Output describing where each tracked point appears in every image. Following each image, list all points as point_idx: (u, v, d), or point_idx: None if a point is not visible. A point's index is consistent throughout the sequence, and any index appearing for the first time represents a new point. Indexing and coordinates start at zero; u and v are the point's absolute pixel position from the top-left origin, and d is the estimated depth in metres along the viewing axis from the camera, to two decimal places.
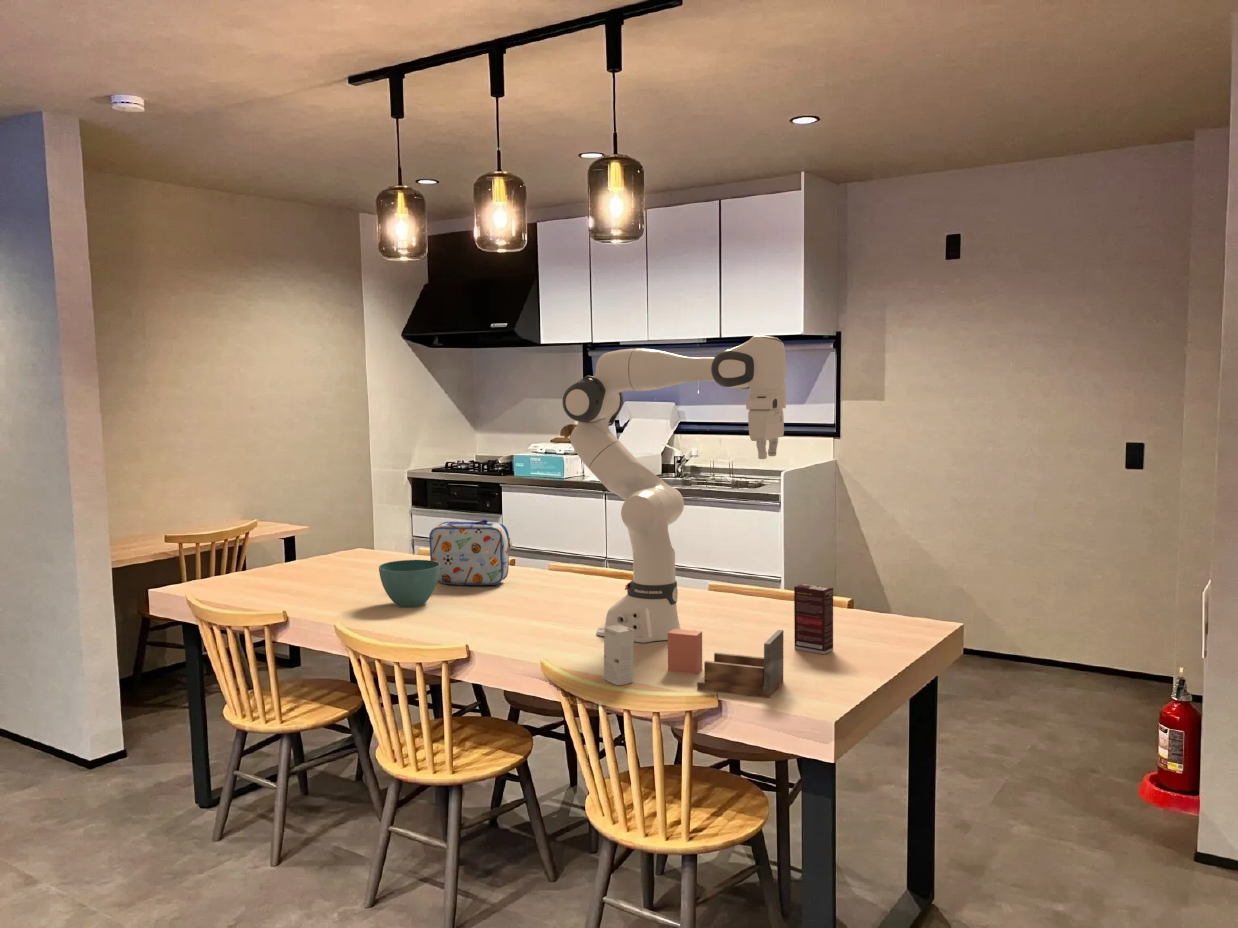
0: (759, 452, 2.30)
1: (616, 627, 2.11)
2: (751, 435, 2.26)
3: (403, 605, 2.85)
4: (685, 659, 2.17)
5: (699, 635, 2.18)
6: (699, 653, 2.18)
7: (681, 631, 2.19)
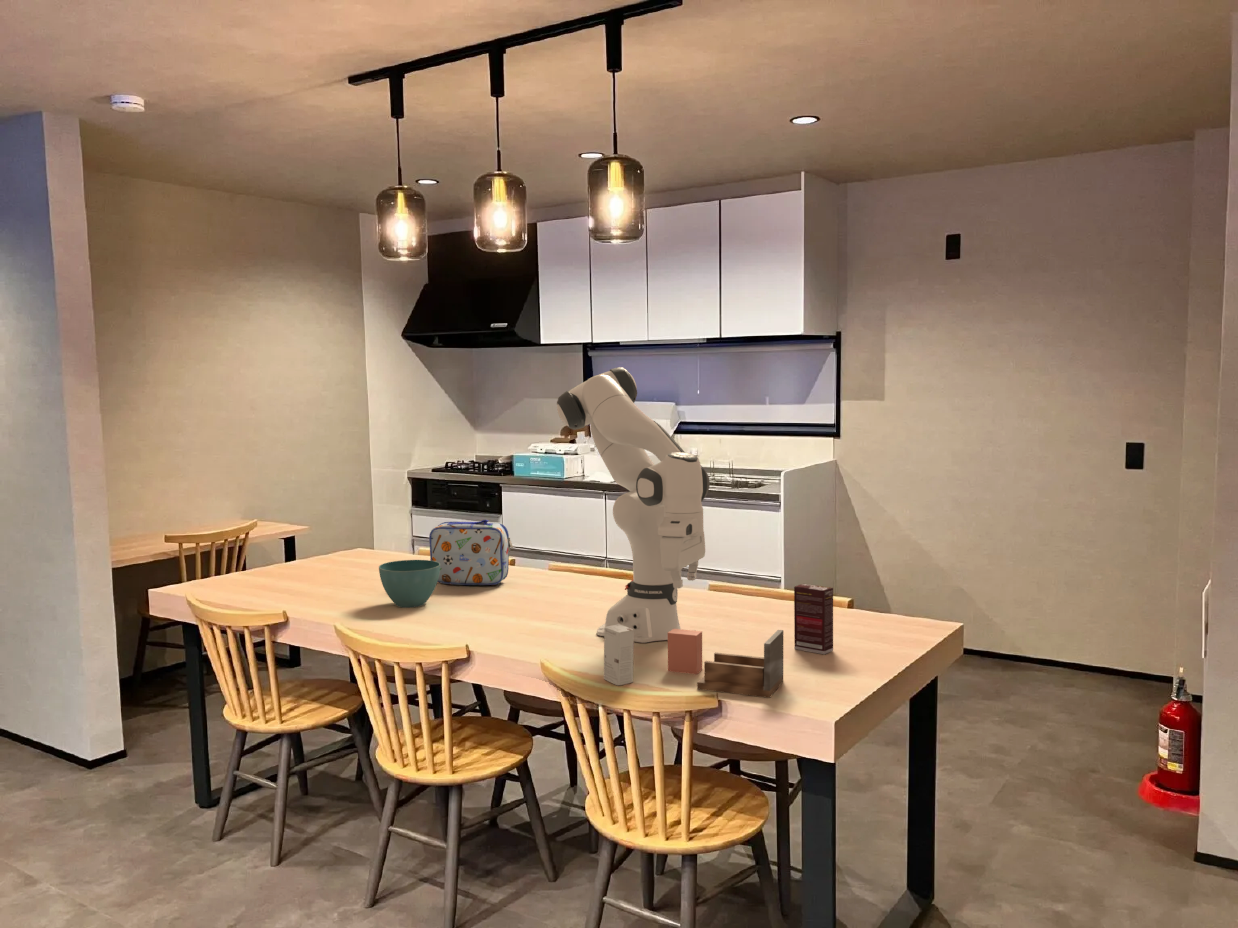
0: (674, 581, 2.13)
1: (616, 627, 2.11)
2: (663, 565, 2.09)
3: (403, 605, 2.85)
4: (685, 659, 2.17)
5: (699, 635, 2.18)
6: (699, 653, 2.18)
7: (681, 631, 2.19)
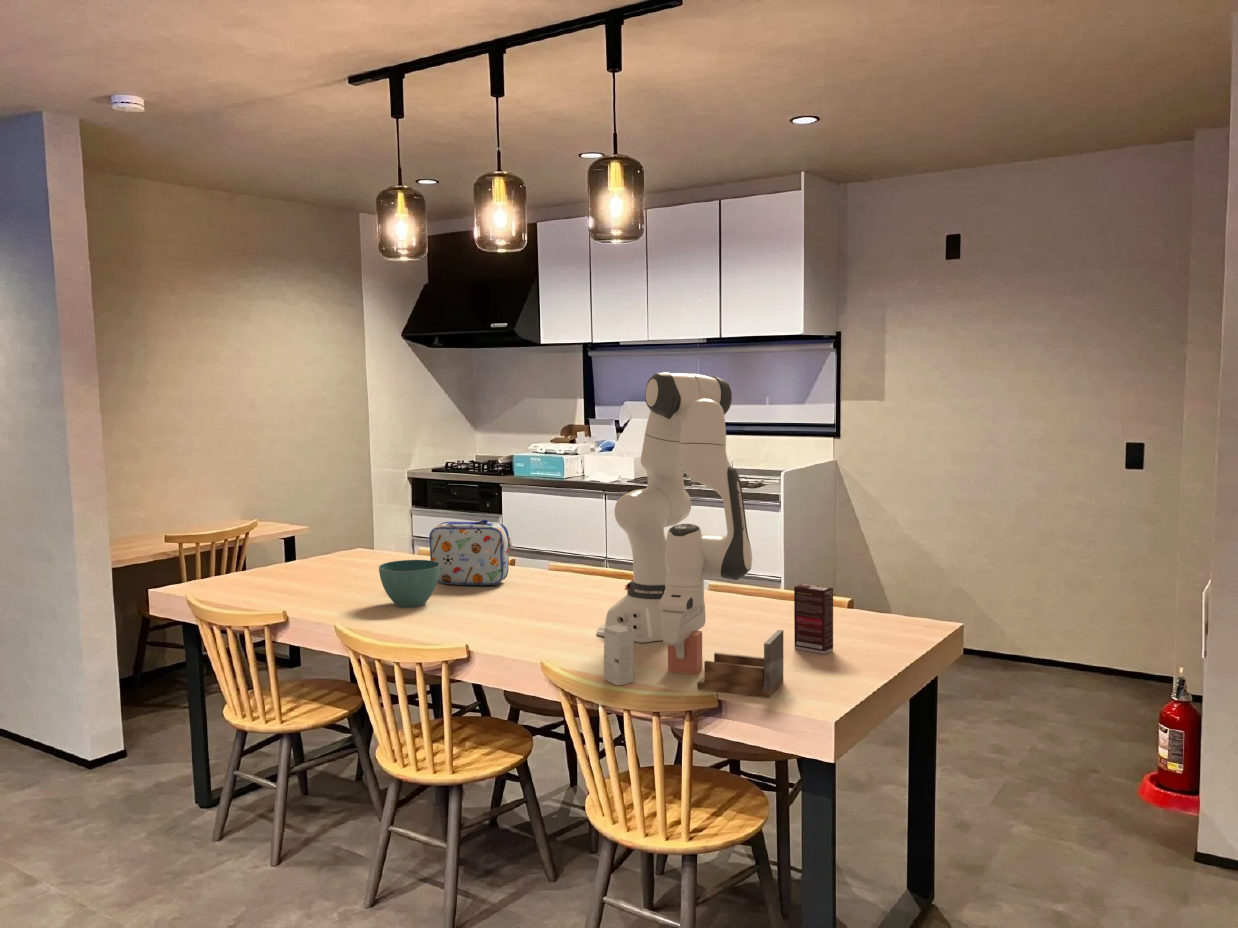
0: (677, 651, 2.16)
1: (616, 627, 2.11)
2: (663, 639, 2.10)
3: (403, 605, 2.85)
4: (685, 659, 2.17)
5: (699, 635, 2.18)
6: (699, 653, 2.18)
7: None
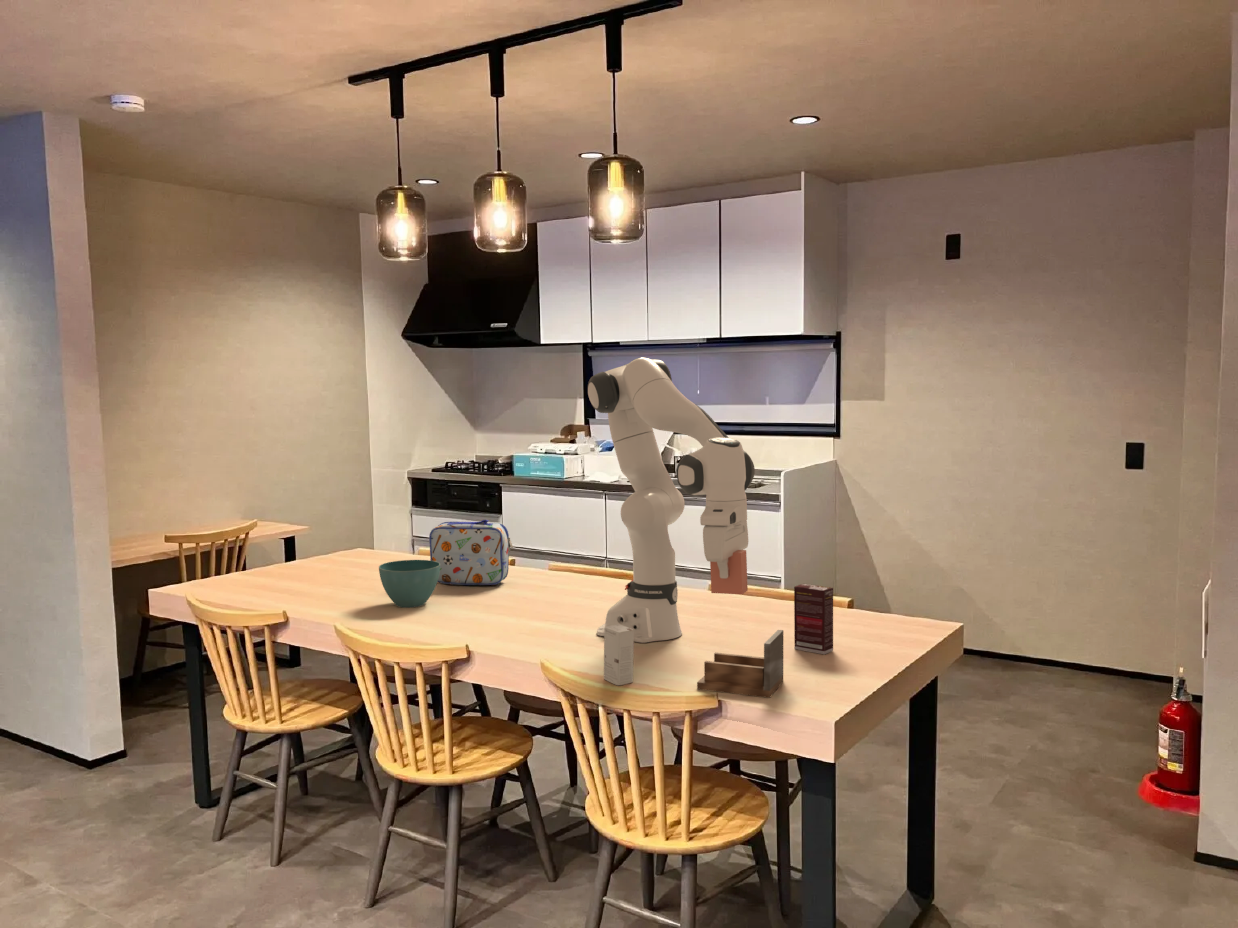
0: (720, 570, 2.04)
1: (616, 627, 2.11)
2: (706, 555, 1.99)
3: (403, 605, 2.85)
4: (729, 579, 2.05)
5: (743, 553, 2.06)
6: (743, 572, 2.06)
7: None
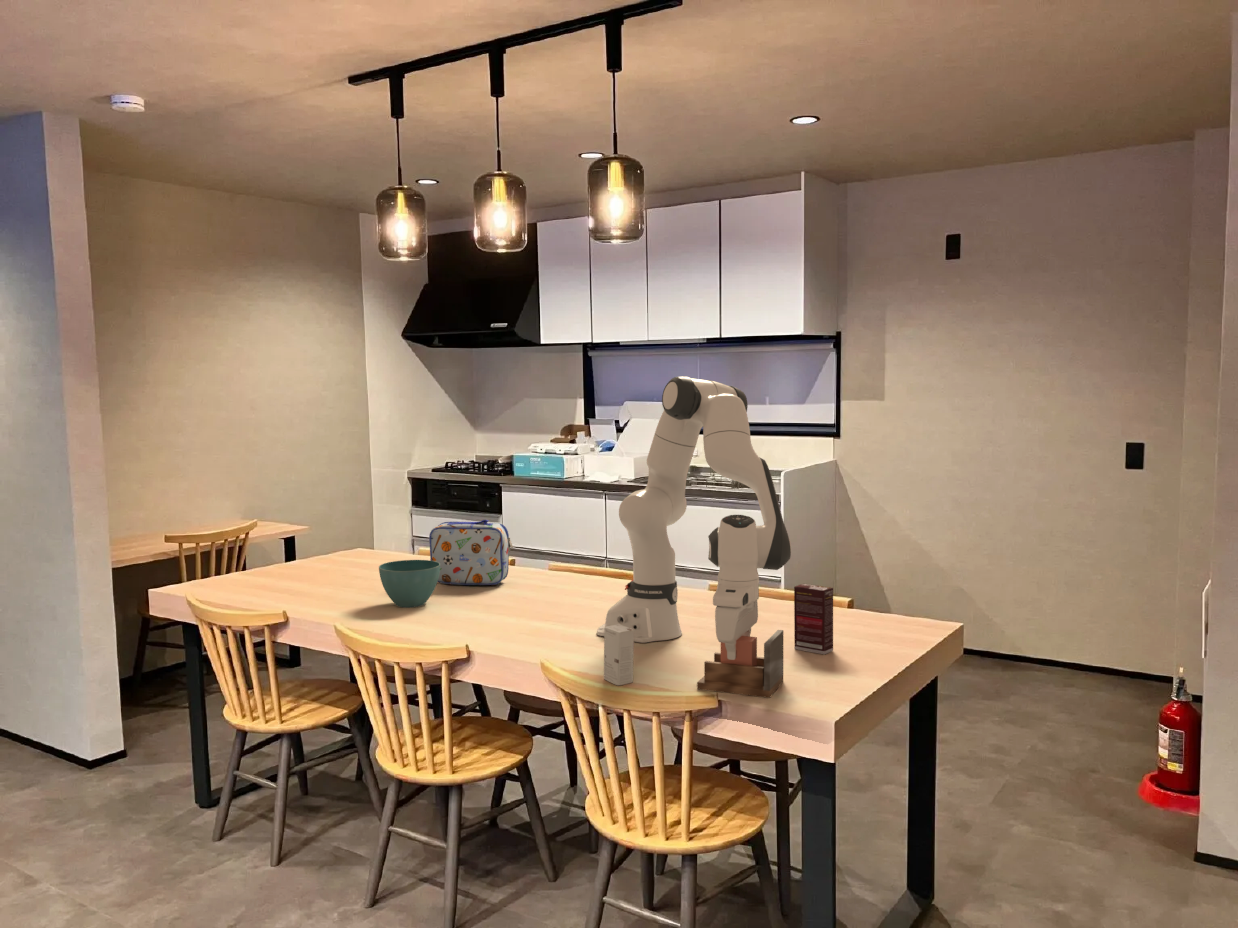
0: (728, 651, 2.03)
1: (616, 627, 2.11)
2: (718, 636, 1.99)
3: (403, 605, 2.85)
4: None
5: (754, 641, 2.06)
6: (753, 660, 2.06)
7: None
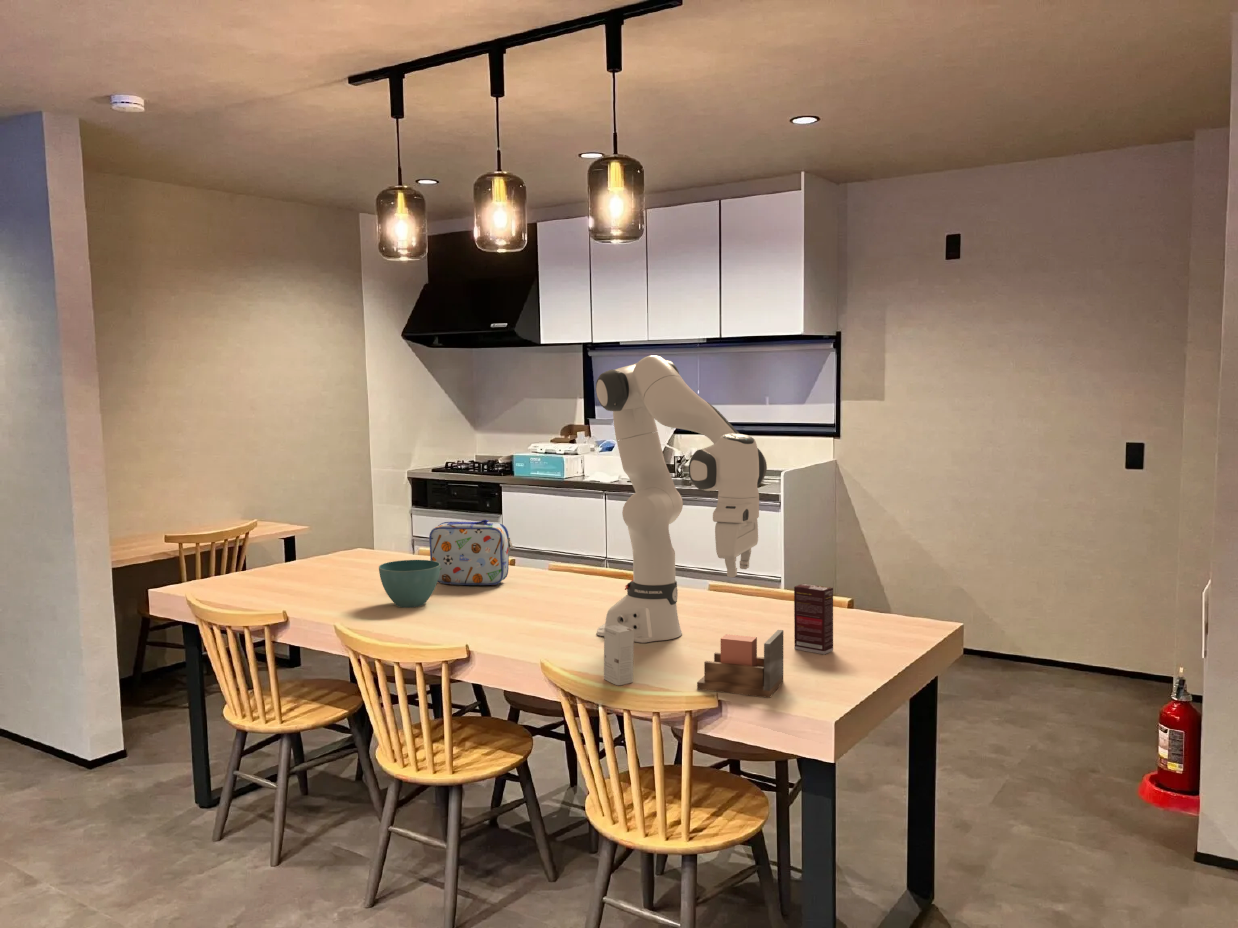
0: (728, 569, 2.01)
1: (616, 627, 2.11)
2: (718, 552, 1.97)
3: (403, 605, 2.85)
4: None
5: (754, 641, 2.06)
6: (753, 660, 2.06)
7: (734, 637, 2.08)
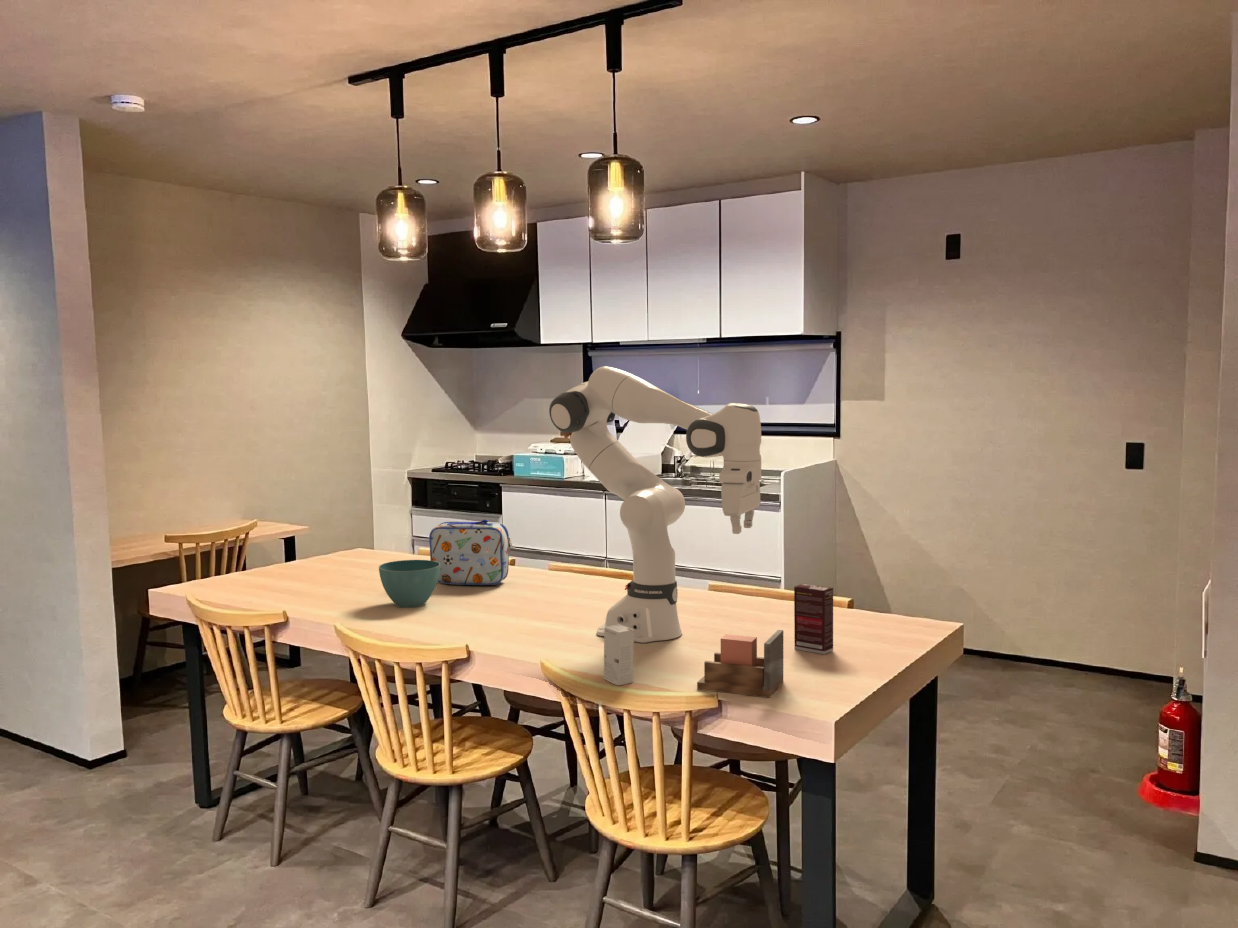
0: (733, 526, 2.20)
1: (616, 627, 2.11)
2: (724, 510, 2.16)
3: (403, 605, 2.85)
4: None
5: (754, 641, 2.06)
6: (753, 660, 2.06)
7: (734, 637, 2.08)
